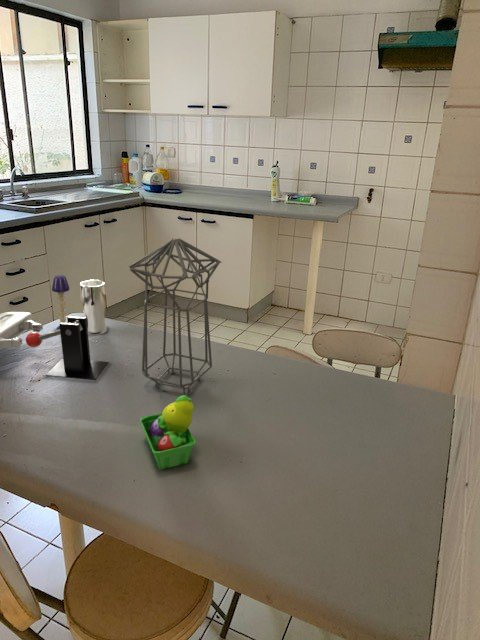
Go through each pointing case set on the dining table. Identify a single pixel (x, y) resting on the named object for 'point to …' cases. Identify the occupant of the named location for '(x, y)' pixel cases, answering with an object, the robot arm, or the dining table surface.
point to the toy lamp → (60, 295)
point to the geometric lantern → (163, 251)
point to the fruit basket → (171, 433)
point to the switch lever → (44, 336)
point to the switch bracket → (76, 353)
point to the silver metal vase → (94, 305)
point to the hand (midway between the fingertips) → (31, 335)
